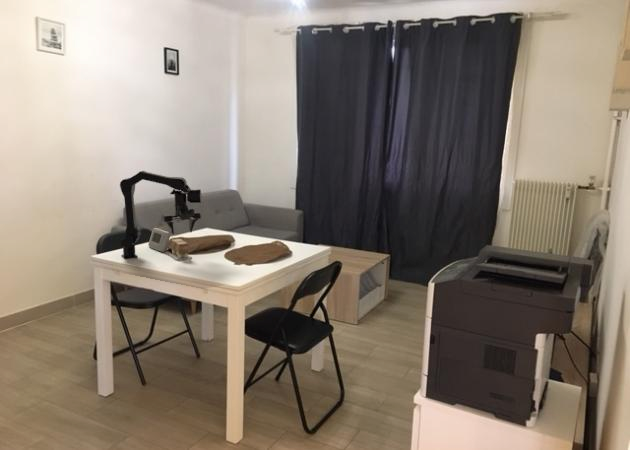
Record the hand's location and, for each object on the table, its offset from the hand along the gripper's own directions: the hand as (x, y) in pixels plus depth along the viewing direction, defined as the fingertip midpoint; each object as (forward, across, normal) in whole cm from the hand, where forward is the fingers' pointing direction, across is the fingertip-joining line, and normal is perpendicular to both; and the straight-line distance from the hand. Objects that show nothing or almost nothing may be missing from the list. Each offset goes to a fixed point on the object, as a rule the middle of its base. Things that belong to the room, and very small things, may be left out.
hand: (181, 233), depth 256 cm
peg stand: (+12, -1, +1) cm, 12 cm away
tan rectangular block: (+9, -1, +1) cm, 9 cm away
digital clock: (+12, -6, +20) cm, 24 cm away
